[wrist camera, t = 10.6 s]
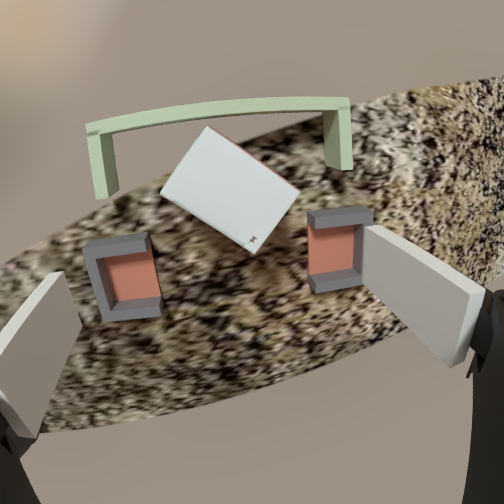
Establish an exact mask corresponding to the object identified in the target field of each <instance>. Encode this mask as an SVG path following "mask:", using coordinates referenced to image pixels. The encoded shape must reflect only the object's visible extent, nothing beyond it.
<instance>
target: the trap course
mask: <svg viewBox="0 0 504 504" xmlns="http://www.w3.org/2000/svg"><path fill="white" fill-rule="evenodd" d="M291 112H322V117H323V132H324V151H325V166H329V167H332V168H336V169H339V170H353V159H352V134H351V116H350V101H349V98H346V97H269V98H250V99H236V100H224V101H213V102H205V103H196V104H188V105H180V106H174V107H167V108H161V109H154V110H148V111H143V112H137V113H132V114H128V115H122V116H117V117H113V118H108V119H104V120H99V121H96V122H92V123H87V124H86V133H87V141H88V149H89V157H90V164H91V170H92V177H93V183H94V189H95V195H96V199H103V198H108V197H110V196H111V195H113V194H114V193H115V192H117V191H118V190H119V184H118V178H117V171H116V164H115V156H114V149H113V140H112V134H114V133H119V132H124V131H129V130H134V129H140V128H145V127H151V126H157V125H163V124H170V123H176V122H183V121H191V120H199V119H207V118H217V117H227V116H239V115H250V114H251V115H252V114H268V113H291ZM367 226H373V211H372V210H370V209H368V208H366V207H364V206H355V207H345V208H335V209H325V210H315V211H307V230H308V284H309V285H310V286H311V288H312V289H313V291H314V292H315V293H321V292H327V291H332V290H338V289H343V288H348V287H354V286H359V285H364V284H363V283H362V280H363V263H364V239H365V227H367ZM82 251H83V255H84V259H85V263H86V266H87V270H88V273H89V277H90V280H91V284H92V287H93V290H94V294H95V297H96V300H97V303H98V306H99V309H100V312H101V315H102V318H103V321H104V322H110V321H120V320H130V319H139V318H148V317H157V316H162V310H163V300H162V296H161V291H160V287H159V282H158V278H157V273H156V269H155V264H154V259H153V254H152V249H151V244H150V239H149V234H148V232H142V233H136V234H129V235H122V236H116V237H110V238H103V239H97V240H91V241H89V242H88V243H87V244H86V245H85V246H84V247H83V248H82Z"/></svg>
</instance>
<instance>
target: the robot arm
mask: <svg viewBox="0 0 504 504" xmlns="http://www.w3.org/2000/svg"><path fill="white" fill-rule="evenodd" d="M362 283H363V284H364V285H365V286H366V287H367V288H368V289H369V290H370V291H371V292H372V293H373V294H375V295H376V296H377V297H378V298H379V299H380V300H381V301H382V302H383V303H384V304H385V305H386V306H387V307H388V308H389V309H390V310H391V311H392V312H393V313H394V314H395V315H396V316H397V317H398V318H399V319H400V320H401V321H402V322H403V323H404V324H405V325H406V326H407V327H408V328H409V329H410V330H411V331H412V332H413V333H415V335H416V336H417V337H418V338H420V340H421V341H423V343H424V344H425V345H426V346H427V347H428V348H429V349H430V350H431V351H432V352H433V353H434V354H435V355H436V356H437V357H438V358H439V359H440V360H441V361H442V362H443V363H444V364H445V365H446V366H447V367H448V368H451V367H453V366H455V365H457V364H459V363H461V362H463V361H464V360H465V358H466V355H467V352H468V349H469V346H470V347H471V348H472V349H473V350H474V351H475V354H474V357H473V360H472V362H471V365H470V368H469V370H468V373H467V376H466V378H469V376H470V374H471V373H472V372H473V414H472V432H471V444H470V455H469V463H468V470H467V477H466V484H465V490H464V495H463V500H462V504H504V290H497V291H495V292H494V293H493V292H491V291H490V290H488V289H487V288H485V287H484V286H482V285H481V284H479V283H477V282H476V281H474V280H473V279H470V277H468V276H467V275H465V274H463V273H462V272H460V271H459V270H457V269H455V268H454V267H451V266H449V265H447V264H446V263H444V262H443V261H441V260H439V259H438V258H436V257H434V256H433V255H431V254H429V253H428V252H426V251H424V250H423V249H421V248H419V247H417V246H416V245H414V244H412V243H411V242H409V241H407V240H405V239H404V238H402V237H400V236H398V235H397V234H395V233H393V232H391V231H389V230H388V229H386V228H384V227H382V226H380V225H375V226H367V227H365V239H364V263H363V280H362ZM81 328H82V324H81V321H80V318H79V316H78V313H77V310H76V307H75V305H74V302H73V299H72V296H71V293H70V290H69V287H68V284H67V281H66V278H65V275H64V271H62V272H55V273H49V274H48V275H47V277H46V278H45V279H44V280H43V281H42V282H41V283H40V284H39V286H38V287H37V288H36V289H35V290H34V291H33V293H32V294H31V295H30V296H29V297H28V299H27V300H26V301H25V302H24V303H23V305H22V306H21V307H20V308H19V309H18V311H17V312H16V313H15V314H14V316H13V317H12V318H11V319H10V321H9V322H8V323H7V325H6V326H5V327H4V329H3V330H2V331H1V332H0V504H41V503H40V501H39V499H38V498H37V496H36V494H35V492H34V490H33V488H32V486H31V484H30V482H29V480H28V477H27V475H26V473H25V471H24V469H23V466H22V464H21V462H20V458H21V457H22V455H23V454H24V453H25V452H26V451H27V450H28V449H29V447H30V446H31V445H32V444H33V443H35V441H36V440H37V438H38V436H39V433H40V430H41V423H42V420H43V418H44V415H45V412H46V410H47V407H48V404H49V402H50V399H51V397H52V394H53V392H54V389H55V387H56V384H57V382H58V379H59V377H60V375H61V372H62V370H63V368H64V365H65V363H66V361H67V358H68V356H69V354H70V352H71V350H72V347H73V345H74V343H75V341H76V339H77V337H78V335H79V332H80V330H81Z"/></svg>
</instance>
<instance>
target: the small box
mask: <svg viewBox="0 0 504 504" xmlns="http://www.w3.org/2000/svg"><path fill="white" fill-rule="evenodd" d="M299 194H300V190H298V189H297V188H296V187H294V186H293V185H292V184H291V183H289V182H288V181H287V180H285V179H284V178H283V177H281V176H280V175H279V174H277V173H276V172H275V171H273V170H272V169H271V168H269V167H268V166H267V165H265V164H264V163H263V162H261V161H260V160H259V159H257V158H256V157H254V156H253V155H252V154H250V153H249V152H247V151H246V150H244V149H243V148H242V147H240V146H239V145H237V144H236V143H234V142H233V141H231V140H230V139H228V138H227V137H225V136H224V135H222V134H221V133H219V132H218V131H216V130H215V129H213V128H212V127H210V126H206V127H205V128H204V129H203V131H202V132H201V133H200V135H199V136H198V137H197V139H196V140H195V141H194V143H193V144H192V145H191V147H190V148H189V150H188V151H187V152H186V154H185V155H184V157H183V158H182V160H181V161H180V163H179V164H178V166H177V167H176V168H175V170H174V172H173V173H172V175H171V176H170V178H169V179H168V181H167V182H166V184H165V185H164V187H163V189H162V190H161V192H160V195H161V196H163V197H164V198H166V199H168V200H170V201H172V202H173V203H175V204H177V205H178V206H180V207H182V208H183V209H185V210H187V211H188V212H190V213H191V214H193V215H195V216H196V217H198V218H199V219H201V220H202V221H204V222H206V223H207V224H209V225H210V226H212V227H213V228H215V229H217V230H218V231H220V232H221V233H223V234H224V235H226V236H227V237H229V238H231V239H232V240H233V241H235V242H236V243H238V244H239V245H241V246H242V247H244V248H245V249H246V250H248V251H249V252H251V253H252V254H255V253H256V252H257V251H258V249H259V248H260V247H261V245H262V244H263V243H264V241H265V240H266V239H267V237H268V236H269V235H270V233H271V232H272V231H273V229H274V228H275V227H276V225H277V224H278V222H279V221H280V220H281V218H282V217H283V216H284V214H285V213H286V212H287V210H288V209H289V208H290V206H291V205H292V204H293V202H294V201H295V199H296V198H297V197H298V195H299Z"/></svg>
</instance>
